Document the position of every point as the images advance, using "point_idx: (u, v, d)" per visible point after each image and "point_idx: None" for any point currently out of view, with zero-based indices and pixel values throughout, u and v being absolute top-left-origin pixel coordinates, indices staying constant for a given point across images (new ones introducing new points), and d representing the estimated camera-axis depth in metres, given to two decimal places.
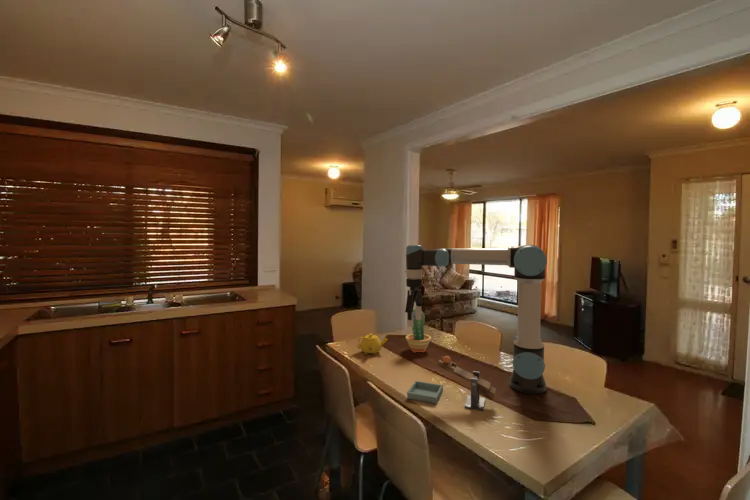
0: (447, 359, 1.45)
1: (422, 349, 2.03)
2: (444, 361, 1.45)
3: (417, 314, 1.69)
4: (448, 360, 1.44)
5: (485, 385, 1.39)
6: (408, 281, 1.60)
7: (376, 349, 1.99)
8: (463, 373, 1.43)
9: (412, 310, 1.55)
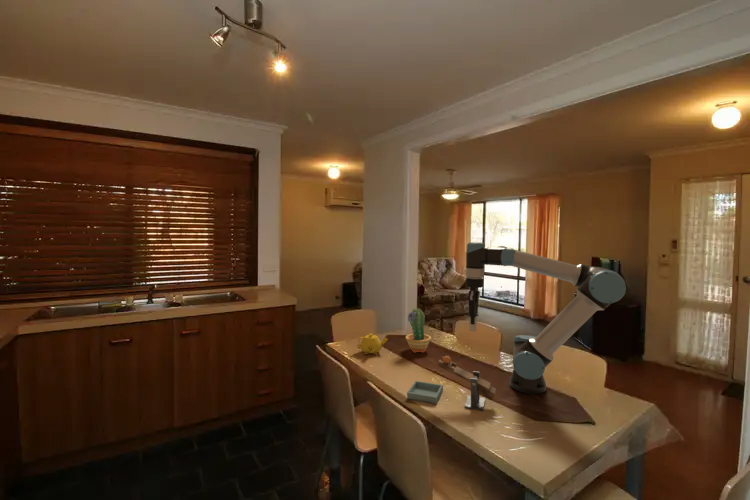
0: (447, 359, 1.45)
1: (422, 349, 2.03)
2: (444, 361, 1.45)
3: None
4: (448, 360, 1.44)
5: (485, 385, 1.39)
6: (468, 281, 1.49)
7: (376, 349, 1.99)
8: (463, 373, 1.43)
9: (475, 314, 1.51)
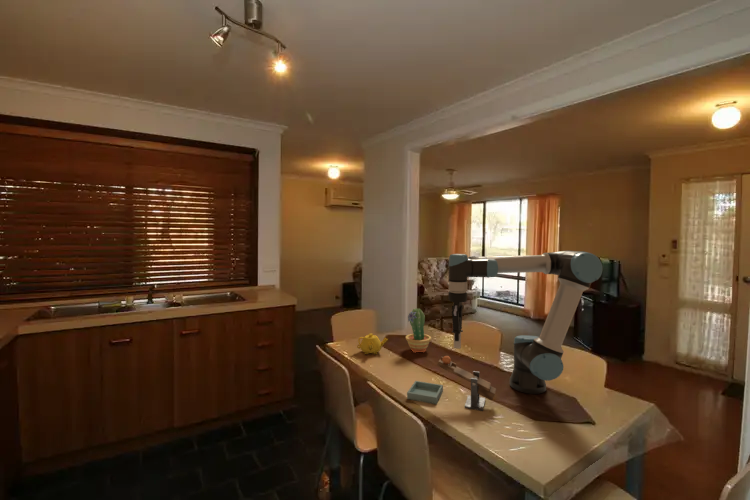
0: (447, 359, 1.45)
1: (422, 349, 2.03)
2: (444, 361, 1.45)
3: None
4: (448, 360, 1.44)
5: (485, 385, 1.39)
6: (451, 295, 1.41)
7: (376, 349, 1.99)
8: (463, 373, 1.43)
9: (459, 330, 1.42)
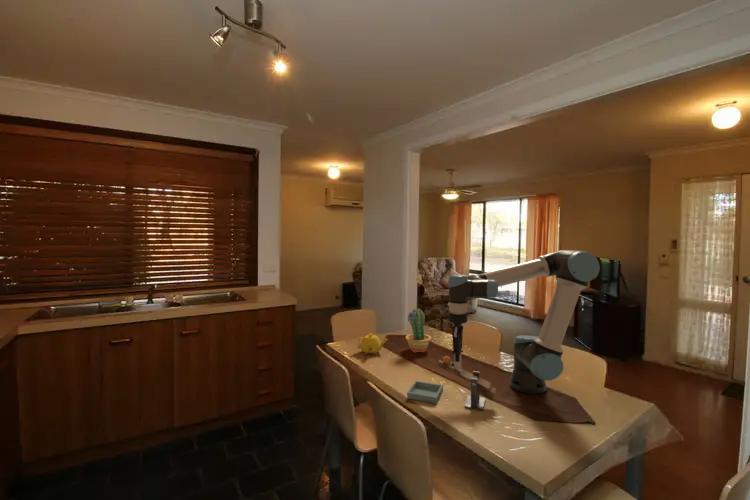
0: (447, 359, 1.45)
1: (422, 349, 2.03)
2: (444, 361, 1.45)
3: None
4: (448, 360, 1.44)
5: (485, 385, 1.39)
6: (452, 316, 1.41)
7: (376, 349, 1.99)
8: (463, 373, 1.43)
9: (460, 351, 1.42)
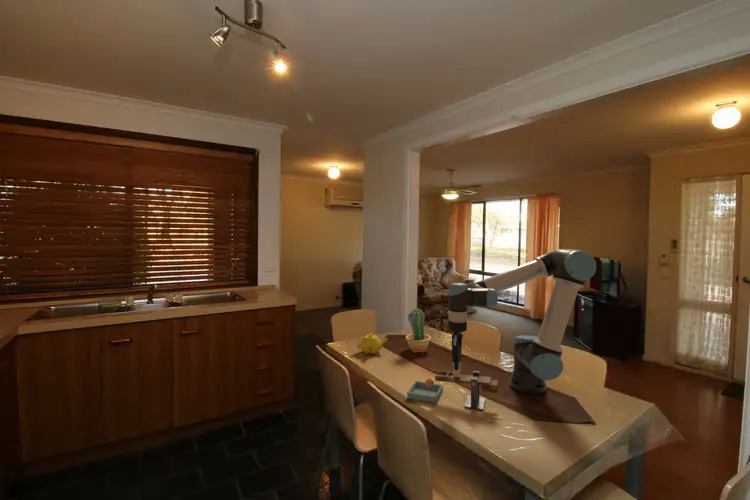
0: (429, 386, 1.48)
1: (422, 349, 2.03)
2: (429, 382, 1.48)
3: None
4: (428, 386, 1.48)
5: (485, 381, 1.39)
6: (451, 325, 1.41)
7: (376, 349, 1.99)
8: (462, 378, 1.43)
9: (459, 359, 1.43)
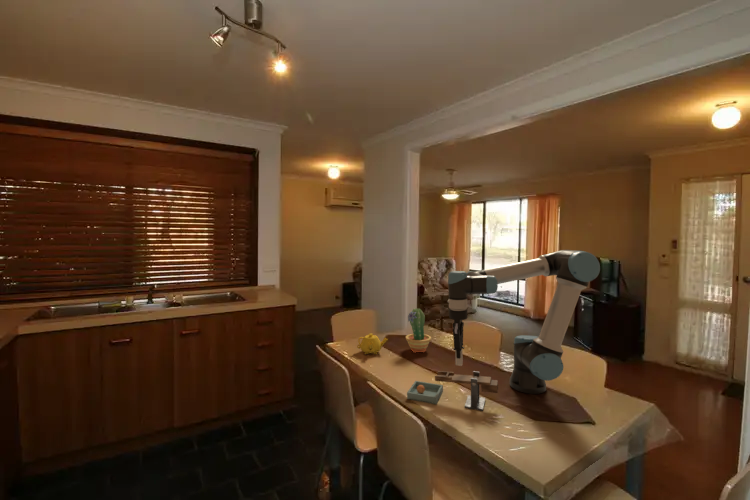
0: (420, 388, 1.50)
1: (422, 349, 2.03)
2: (418, 391, 1.50)
3: None
4: (421, 388, 1.50)
5: (485, 381, 1.39)
6: (452, 313, 1.41)
7: (376, 349, 1.99)
8: (462, 378, 1.43)
9: (461, 347, 1.42)
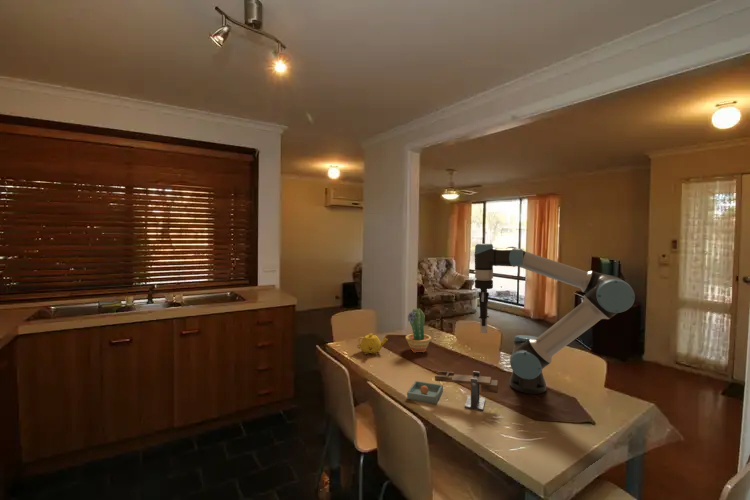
0: (425, 390, 1.49)
1: (422, 349, 2.03)
2: (422, 390, 1.49)
3: None
4: (426, 391, 1.49)
5: (485, 381, 1.39)
6: (478, 282, 1.49)
7: (376, 349, 1.99)
8: (462, 378, 1.43)
9: (486, 315, 1.50)
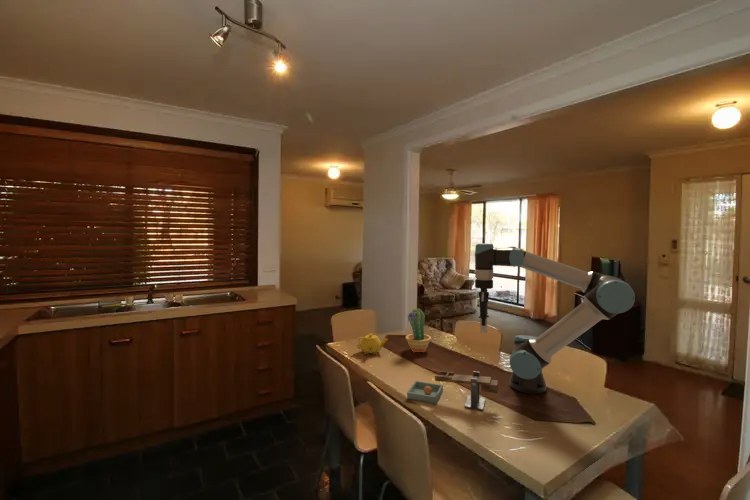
0: (429, 393, 1.48)
1: (422, 349, 2.03)
2: (426, 390, 1.49)
3: None
4: (428, 394, 1.49)
5: (485, 381, 1.39)
6: (478, 282, 1.49)
7: (376, 349, 1.99)
8: (462, 378, 1.43)
9: (486, 315, 1.50)
